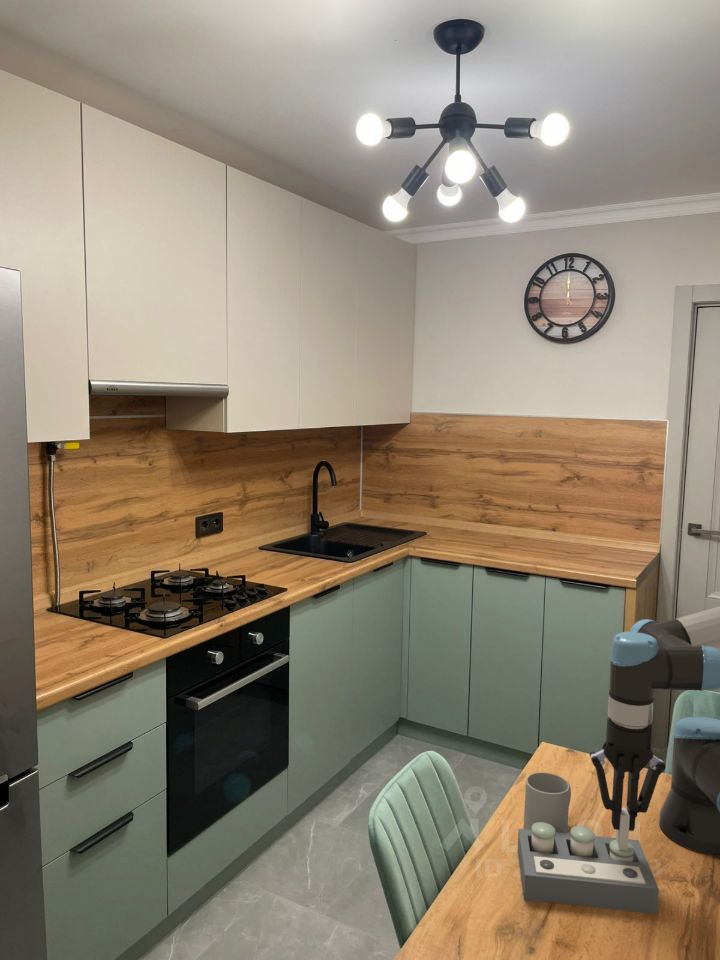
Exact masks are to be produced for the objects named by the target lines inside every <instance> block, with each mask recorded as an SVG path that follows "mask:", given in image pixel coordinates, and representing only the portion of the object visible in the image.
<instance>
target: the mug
mask: <svg viewBox="0 0 720 960" xmlns="http://www.w3.org/2000/svg"><path fill="white" fill-rule="evenodd" d="M524 792H525V793H524V811H523V812H524V813H523V828H522V829H528V830H532V825H533V824H534V823H537V822H544V823H548V824H550V825H552V826H553V827H554V828H555V832H559V833H568V832H569V830H568V828H569V810H570V804H571V797H572V789H571V784H570V782H568V781H567V780H566V779H565V778H564V777H562V776H559V775H557V774H554V773H550V772H535V773H532V774H529V775H528V776H527V777H526V780H525V790H524Z"/></svg>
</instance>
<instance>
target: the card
mask: <svg viewBox="0 0 720 960" xmlns="http://www.w3.org/2000/svg"><path fill="white" fill-rule="evenodd" d="M534 862H535V868H536V873H538V874H548V875H558V876H567V877H577V878H586V879H596V880H605V881H615V882H624V883H634V884H644V885H645V881H644V878H643V876H642V873H641V871H640V868H639V867H636V866H626V865H616V864H606V863H596V862H586V861H577V860H567V859H557V858H547V857H537V856H534Z"/></svg>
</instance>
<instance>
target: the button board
mask: <svg viewBox="0 0 720 960" xmlns="http://www.w3.org/2000/svg"><path fill="white" fill-rule="evenodd" d="M613 840H616V837H612V836H611V837H609V836H597V835H595V840H594V847H593V858H590V857H581V856H571V854H570V846H571V833H559V832H555V837H554V853H553V854H551V853H541V852H532V851H531V842H532V831H531V830H528V829H523V828H518V833H517V857H518V865H519V873H520V879H521V881H520V882H521V887H522V895H523V900H525V901H533V902H542V903H543V902H544V903H553V904H562V905H570V906H579V907H580V906H582V907H589V908H597V909H599V908H600V909H607V910H614V911H615V910H616V911H626V912H627V911H628V912H634V913H643V914H651V915H653V914H654V915H657V914H658V907H659V906H658V905H659V893H660V891H659V890H660V889H659V886H658V883H657V881H656V879H655V876H654V874H653V872H652V869H651V867H650V865H649V863H648V860H647V857H646V855H645V853H644V850H643V848H642V845H641V843H640V841H639V839H629V838H628V843H630V844H631V845H632V846H633V847H634V855H633V862H630V861H620V860H610V849H609V848H610V842H611V841H613ZM534 856H537V857H547V858H557V859H567V860H577V861H586V862H596V863H606V864H616V865H626V866H636V867H639V868H640V871H641V873H642V876H643V878H644V881H645V885H644V884H634V883H624V882H615V881H605V880H596V879H586V878H577V877H567V876H558V875H548V874H538V873H536V868H535V862H534Z"/></svg>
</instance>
